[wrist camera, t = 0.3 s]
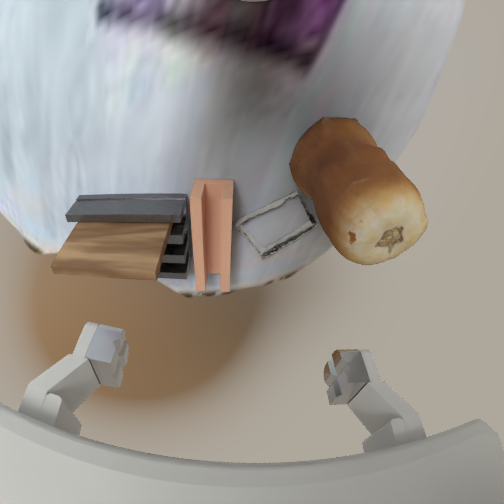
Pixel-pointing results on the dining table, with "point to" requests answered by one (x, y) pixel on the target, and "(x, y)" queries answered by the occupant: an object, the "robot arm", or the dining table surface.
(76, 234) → the tall sheet
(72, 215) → the rack
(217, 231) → the holder
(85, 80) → the dining table surface
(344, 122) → the butternut squash
